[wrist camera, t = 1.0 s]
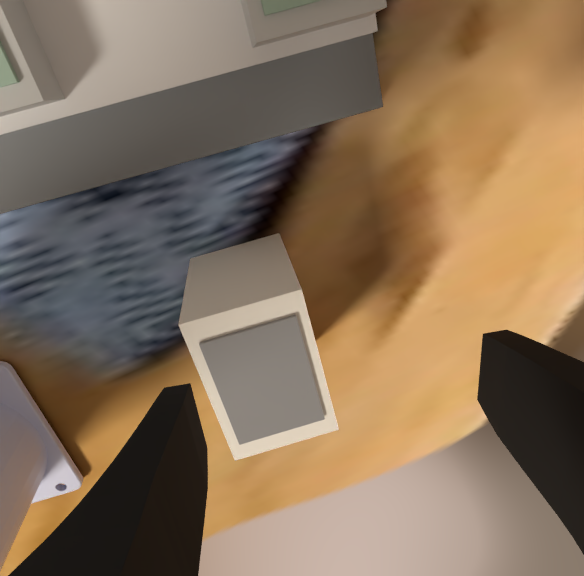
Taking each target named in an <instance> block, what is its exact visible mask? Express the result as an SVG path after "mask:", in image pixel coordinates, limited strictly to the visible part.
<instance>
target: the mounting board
mask: <svg viewBox="0 0 584 576" xmlns="http://www.w3.org/2000/svg"><path fill="white" fill-rule="evenodd" d="M386 7H387V3H386V0H0V214H2V213H5V212H9V211H12V210H16V209H19V208H23V207H27V206H30V205H34V204H37V203H41V202H45V201H48V200H52V199H55V198H59V197H62V196H66V195H70V194H73V193H77V192H80V191H84V190H88V189H91V188H95V187H98V186H102V185H105V184H109V183H113V182H116V181H120V180H123V179H127V178H131V177H134V176H138V175H141V174H145V173H148V172H152V171H156V170H159V169H163V168H166V167H170V166H174V165H177V164H181V163H184V162H188V161H191V160H195V159H199V158H202V157H206V156H209V155H213V154H216V153H220V152H224V151H227V150H231V149H234V148H238V147H242V146H245V145H249V144H252V143H256V142H259V141H263V140H267V139H270V138H274V137H277V136H281V135H285V134H288V133H292V132H295V131H299V130H302V129H306V128H310V127H313V126H317V125H320V124H324V123H328V122H331V121H335V120H338V119H342V118H345V117H349V116H353V115H356V114H360V113H363V112H367V111H371V110H374V109H378V108H381V107H383V102H382V95H381V88H380V81H379V74H378V67H377V60H376V53H375V47H374V40H373V33H374V32H377V31H378V28H377V21H376V14H375V13H376V12H378V11H380V10H382V9H384V8H386Z"/></svg>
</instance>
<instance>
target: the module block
mask: <svg viewBox="0 0 584 576" xmlns="http://www.w3.org/2000/svg"><path fill="white" fill-rule="evenodd" d="M178 325H179V328H180V330H181V332H182V335H183V337H184V340H185V342H186V344H187V347H188V349H189V352H190V354H191V356H192V359H193V361H194V364H195V366H196V368H197V371H198V373H199V375H200V378H201V380H202V383H203V385H204V387H205V390H206V392H207V395H208V397H209V399H210V402H211V404H212V407H213V409H214V411H215V414H216V416H217V419H218V421H219V423H220V426H221V428H222V430H223V433H224V435H225V438H226V440H227V442H228V445H229V447H230V450H231V452H232V454H233V457H234V459H235V461H236V460H239V459H242V458H246V457H249V456H252V455H256V454H259V453H262V452H266V451H269V450H272V449H276V448H279V447H282V446H286V445H289V444H292V443H296V442H299V441H302V440H306V439H309V438H312V437H316V436H319V435H322V434H326V433H329V432H332V431H336V430H339V428H338V424H337V421H336V417H335V413H334V409H333V405H332V402H331V398H330V394H329V390H328V387H327V383H326V379H325V375H324V371H323V368H322V364H321V360H320V356H319V352H318V349H317V345H316V341H315V337H314V334H313V330H312V326H311V322H310V318H309V315H308V311H307V307H306V303H305V300H304V296H303V292H302V289H301V286H300V284H299V281H298V279H297V276H296V274H295V271H294V269H293V266H292V264H291V261H290V259H289V256H288V254H287V251H286V249H285V246H284V244H283V241H282V239H281V236H280V234H279V233H278V234H274V235H271V236H267V237H264V238H260V239H257V240H253V241H249V242H246V243H242V244H239V245H235V246H232V247H228V248H225V249H221V250H218V251H214V252H211V253H207V254H204V255H200V256H197V257H193V258H190V262H189V268H188V274H187V279H186V285H185V290H184V296H183V302H182V307H181V313H180V319H179V324H178Z"/></svg>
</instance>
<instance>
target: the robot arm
mask: <svg viewBox="0 0 584 576" xmlns="http://www.w3.org/2000/svg"><path fill="white" fill-rule="evenodd" d="M477 400H478V402H479V403H480V405H481V407H482V409H483V411H484V413H485V415H486V416H487V418H488V420H489V422H490V423H491V425H492V426H493V428H494V430H495V432H496V434H497V435H498V437H499V438H500V439H501V441H502V442H503V444H504V445H505V446H506V448H507V449H508V450H509V452H510V453H511V454H512V456H513V457H514V458H515V460H516V461H517V462H518V464H519V465H520V466H521V468H522V469H523V470H524V472H525V473H526V474H527V476H528V477H529V478H530V480H531V481H532V482H533V483H534V485H535V486H536V488H537V489H538V490H539V491H540V493H541V494H542V495H543V497H544V498H545V499H546V501H547V502H548V503H549V505H550V506H551V507H552V509H553V510H554V511H555V513H556V514H557V515H558V517H559V518H560V519H561V521H562V522H563V524H564V525H565V527H566V528H567V529H568V531H569V532H570V534H571V535H572V536H573V538H574V540H575V541H576V543H577V545H578V546H579V548H580V549H581V551H582V553H583V554H584V362H582V361H580V360H577V359H575V358H573V357H571V356H568V355H566V354H564V353H561V352H559V351H557V350H555V349H552V348H550V347H548V346H546V345H543V344H541V343H539V342H536V341H534V340H532V339H529V338H527V337H525V336H522V335H520V334H517V333H514V332H512V331H509V330H503V331H497V332H491V333H485V334H483V339H482V351H481V363H480V375H479V387H478V399H477ZM82 482H83V476H82V475H81V473H80V472H79V470H78V468H77V467H76V465H75V464H74V462H73V461H72V459H71V457H70V456H69V454H68V453H67V451H66V450H65V448H64V447H63V445H62V443H61V442H60V440H59V439H58V437H57V436H56V434H55V432H54V431H53V429H52V428H51V426H50V425H49V423H48V422H47V420H46V418H45V417H44V415H43V414H42V412H41V411H40V409H39V407H38V406H37V404H36V403H35V401H34V400H33V398H32V397H31V395H30V393H29V392H28V390H27V389H26V387H25V386H24V384H23V382H22V381H21V379H20V378H19V376H18V375H17V373H16V372H15V370H14V368H13V367H12V366H11V365H10V364H9V363H7V362H3V361H0V571H1V568H2V566H3V564H4V562H5V560H6V557H7V555H8V553H9V551H10V549H11V546H12V544H13V542H14V540H15V538H16V535H17V533H18V531H19V529H20V527H21V525H22V522H23V520H24V518H25V516H26V514H27V511H28V509H29V507H30V505H31V503H34V502H38V501H41V500H45V499H48V498H51V497H55V496H58V495H61V494H65V493H68V492H71V491H75V490H77V489H79V488H80V487H81V485H82ZM60 483H62V484H65V485H62V484H60ZM207 489H208V464H207V445H206V441H205V438H204V434H203V430H202V426H201V422H200V419H199V415H198V411H197V407H196V403H195V400H194V396H193V392H192V388H191V384H190V383H189V384H184V385H178V386H172V387H166V388H164V389H163V390H162V392H161V393H160V394H159V396H158V397H157V399H156V400H155V402H154V403H153V405H152V406H151V408H150V409H149V411H148V412H147V414H146V415H145V417H144V418H143V420H142V421H141V423H140V424H139V426H138V427H137V429H136V430H135V431H134V433H133V434H132V436H131V437H130V438H129V440H128V441H127V443H126V444H125V445H124V447H123V448H122V450H121V451H120V452H119V454H118V455H117V457H116V458H115V459H114V461H113V462H112V463H111V464H110V466H109V467H108V468H107V470H106V471H105V472H104V473H103V475H102V476H101V477H100V478H99V480H98V481H97V482H96V483H95V485H94V486H93V487H92V488H91V490H90V491H89V492H88V493H87V495H86V496H85V497H84V498H83V499H82V500H81V502H80V503H79V504H78V505H77V506H76V508H75V509H74V510H73V511H72V512H71V513H70V514H69V515H68V516H67V517H66V518H65V520H64V521H63V522H62V523H61V524H60V525H59V526H58V527H57V528H56V529H55V530H54V531H53V532H52V534H51V535H50V536H49V537H48V538H47V539H46V540H45V541H44V542H43V543H42V544H41V545H40V546H39V547H38V548H37V549H35V550H34V551H33V552H32V553H31V554H30V555H29V556H28V557H27V558H26V559H25V560H24V561H23V562H22V563H21V564H20V565H19V566H18V567H17V568H16V569H15V570H14V571H13V572H12V573H11V574H10V575H8V576H198V571H199V561H200V554H201V545H202V536H203V527H204V518H205V509H206V499H207Z"/></svg>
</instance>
